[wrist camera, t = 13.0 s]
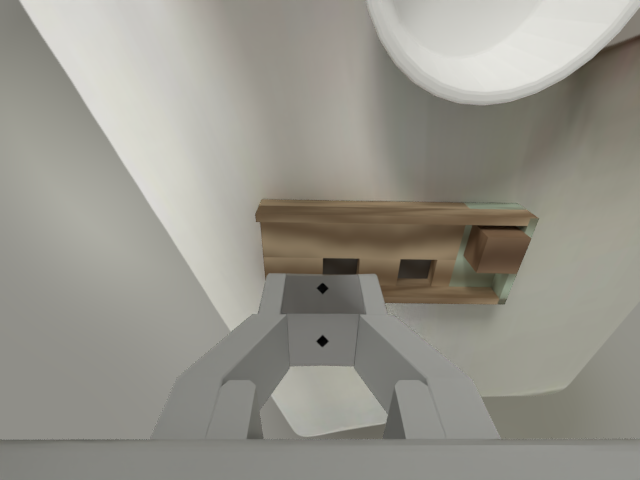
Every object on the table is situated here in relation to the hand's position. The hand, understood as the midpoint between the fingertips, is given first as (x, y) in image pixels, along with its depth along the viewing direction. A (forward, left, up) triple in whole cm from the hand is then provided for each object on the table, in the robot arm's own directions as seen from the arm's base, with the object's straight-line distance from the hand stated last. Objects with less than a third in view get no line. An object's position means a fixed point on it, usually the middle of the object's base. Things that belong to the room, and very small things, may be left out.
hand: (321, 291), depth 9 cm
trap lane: (+16, +9, -30) cm, 35 cm away
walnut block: (+14, +22, -28) cm, 38 cm away
